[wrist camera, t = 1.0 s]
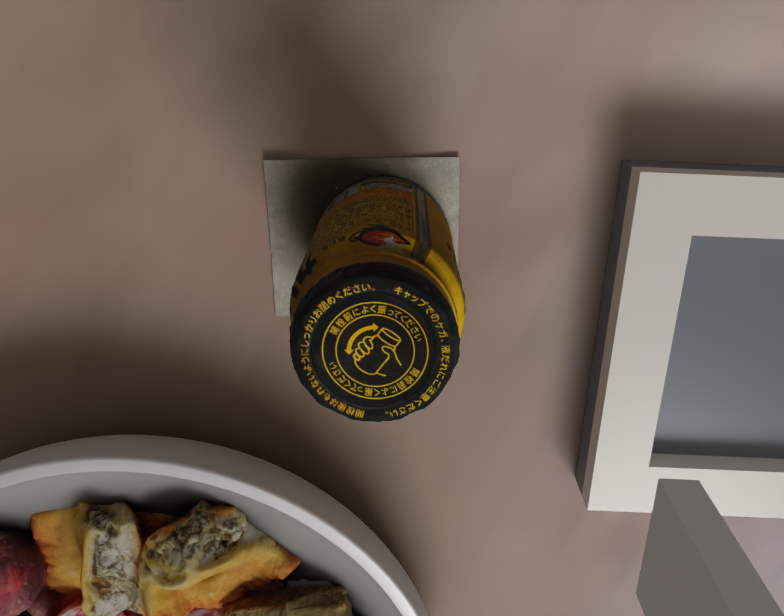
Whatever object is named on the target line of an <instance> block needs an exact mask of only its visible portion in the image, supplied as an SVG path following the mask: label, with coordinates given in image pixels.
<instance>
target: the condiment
mask: <svg viewBox="0 0 784 616" xmlns="http://www.w3.org/2000/svg"><path fill="white" fill-rule="evenodd" d="M263 164H264V176H265V183H266V196H267V208H268V220H269V231H270V245H271V251H272V270H273V271H272V272H273V283H274V299H275V312H276V316H290V319H291V326H290V352H291V357H292V362H293V365H294V369H295V371H296V373H297V375H298V377H299V379H300V382H301V383H302V385H303V386H304V387H305V388H306V389H307V390H308V391H309V393H310V394H311V395H312V396H313V397H314V399H315V400H316V401H317V402H318V403H319V404H320V405H322V406H324V407H326V408H329V409H331V410H333V411H335V412H337V413H339V414H342V415H344V416H346V417H348V418H349V419H353V420H360V421H376V422H380V421H391V420H397V419H401V418H403V417H405V416H407V415H408V414H410V413H413V412H415V411H417V410H420V409H423V408H425V407H427V406H428V405H429V404H430V403H432V402H433V401H434V400H435V399H436V397H437V396H438V395H439V394H440V393H441V392H442V390H443V388H444V387H445V385H446V384H447V382H448V381H449V379H450V377H451V374H452V371H453V369H454V368H455V366H456V364H457V363H458V358H459V344H460V337H461V334H462V329H463V324H464V319H465V311H466V309H465V295H464V292H463V289H462V282H461V279H460V275H459V271H458V237H459V183H460V157H415V158H355V159H299V160H263ZM335 187H338V189H336V188H335Z"/></svg>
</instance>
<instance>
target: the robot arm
mask: <svg viewBox="0 0 784 616" xmlns="http://www.w3.org/2000/svg"><path fill="white" fill-rule="evenodd" d="M636 594H637V597H638V599H639V602H640V604H641V607H642V609H643V612H644V614H645V616H784V614H783V613H782V611H781V610H780V608H779V606H778V605H777V603H776V602H775V600H774V598H773V597H772V595H771V594H770V592H769V591H768V589H767V587H766V586H765V584H764V583H763V581H762V579H761V578H760V576H759V575H758V573H757V572H756V570H755V568H754V567H753V565H752V564H751V562H750V560H749V559H748V557H747V556H746V554H745V553H744V551H743V549H742V548H741V546H740V545H739V543H738V541H737V540H736V538H735V537H734V535H733V534H732V532H731V530H730V529H729V527H728V526H727V524H726V522H725V521H724V519H723V518H722V516H721V515H720V513H719V511H718V510H717V508H716V507H715V505H714V503H713V502H712V500H711V499H710V497H709V496H708V494H707V492H706V491H705V489H704V488H703V486H702V484H701V483H700V481H699V480H685V479H662V478H659V480H658V485H657V490H656V495H655V500H654V505H653V510H652V515H651V520H650V525H649V530H648V535H647V540H646V545H645V550H644V555H643V560H642V565H641V570H640V575H639V580H638V585H637V591H636Z"/></svg>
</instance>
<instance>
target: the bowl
mask: <svg viewBox="0 0 784 616" xmlns="http://www.w3.org/2000/svg"><path fill="white" fill-rule="evenodd" d="M0 616H428V613H427V611H426V608H425V606H424V604H423V602H422V600H421V598H420V596H419V594H418V592H417V590H416V588H415V587H414V585H413V583H412V582H411V580H410V578H409V577H408V575H407V573H406V572H405V570H404V569H403V568H402V566H401V565H400V563H399V562H398V560H397V559H396V558H395V557H394V555H393V554H392V553H391V552H390V550H389V549H388V548H387V547H386V545H385V544H384V543H383V542H382V541H381V540H380V539H379V538H378V537H377V535H376V534H375V533H374V532H373V531H372V530H371V529H370V528H369V527H368V526H367V525H366V524H364V523H363V522H362V521H361V520H360V519H359V518H358V517H357V516H356V515H354V514H353V513H352V512H351V511H350V510H348V509H347V508H346V507H345V506H343V505H342V504H341V503H339V502H338V501H337V500H335V499H334V498H333V497H331V496H330V495H328V494H327V493H325V492H324V491H322V490H321V489H319V488H318V487H316V486H315V485H313V484H311V483H310V482H308V481H306V480H304V479H303V478H301V477H299V476H297V475H295V474H293V473H291V472H289V471H287V470H285V469H283V468H281V467H279V466H277V465H274V464H272V463H270V462H267V461H265V460H263V459H260V458H257V457H254V456H252V455H249V454H246V453H243V452H240V451H237V450H233V449H230V448H227V447H223V446H219V445H215V444H210V443H206V442H201V441H195V440H190V439H184V438H176V437H168V436H154V435H106V436H96V437H86V438H80V439H74V440H68V441H63V442H58V443H54V444H49V445H45V446H41V447H38V448H35V449H31V450H28V451H25V452H22V453H19V454H17V455H14V456H11V457H9V458H6V459H3V460H1V461H0Z"/></svg>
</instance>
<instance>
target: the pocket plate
mask: <svg viewBox="0 0 784 616" xmlns="http://www.w3.org/2000/svg"><path fill="white" fill-rule="evenodd" d="M575 478H576V481H577V484H578V486H579V489H580V492H581V494H582V497H583V500H584V502H585V505H586V508H587V510H599V511H622V512H646V513H652V510H653V505H654V500H655V495H656V490H657V485H658V480H659V478H662V479H685V480H699V481H700V483H701V484H702V486H703V488H704V489H705V491H706V492H707V494H708V496H709V497H710V499H711V500H712V502H713V503H714V505H715V507H716V508H717V510H718V511H719V513H720V515H721V516H740V517H764V518H784V167H772V166H748V165H724V164H700V163H677V162H653V161H629V160H622V164H621V171H620V178H619V185H618V191H617V198H616V205H615V212H614V218H613V225H612V232H611V239H610V246H609V252H608V259H607V266H606V273H605V280H604V286H603V293H602V300H601V307H600V313H599V320H598V327H597V334H596V341H595V347H594V354H593V361H592V368H591V374H590V381H589V388H588V395H587V402H586V408H585V415H584V422H583V429H582V436H581V442H580V449H579V456H578V463H577V469H576V476H575Z"/></svg>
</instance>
